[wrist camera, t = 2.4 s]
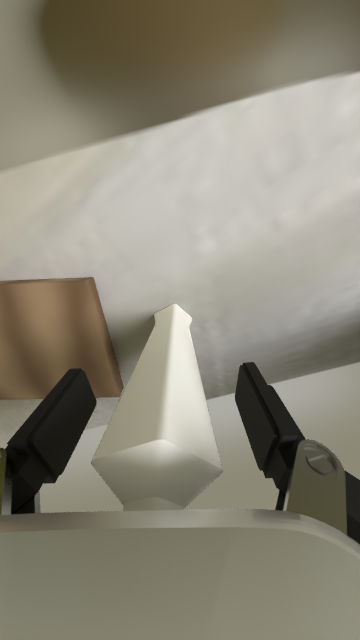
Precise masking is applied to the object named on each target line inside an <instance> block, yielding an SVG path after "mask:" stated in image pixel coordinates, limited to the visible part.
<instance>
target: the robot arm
mask: <svg viewBox="0 0 360 640" xmlns="http://www.w3.org/2000/svg"><path fill="white" fill-rule="evenodd" d="M235 401H236V404H237V407H238V410H239V413H240V416H241V419H242V422H243V425H244V427H245V430H246V433H247V436H248V439H249V442H250V445H251V448H252V451H253V454H254V457H255V459H256V463H257V465H258V468H259V469H260V470H263V472H264V475H265V478H273V480H274V483H275V485H276V487H277V488H278V491H277V496H276V500H275V505H274V509H273V510H265V509H203V510H202V509H200V510H143V511H100V512H99V511H98V512H61V513H41V512H40V494H39V490H40V488H41V486H42V484H43V483H55V482H56V480H57V478H58V476H59V475H61V474H62V473H63V471H64V469H65V467H66V465H67V463H68V461H69V459H70V457H71V455H72V453H73V451H74V449H75V447H76V445H77V443H78V441H79V439H80V437H81V435H82V433H83V431H84V429H85V427H86V425H87V423H88V421H89V419H90V417H91V415H92V413H93V411H94V409H95V406H96V398H95V396H94V393H93V391H92V388H91V386H90V383H89V381H88V378H87V376H86V373H85V371H83V370H82V369H81V368H74V369H69V370H68V371H67V372H66V373H65V375H64V376H63V377H62V378H61V379H60V381H59V382H58V383H57V384H56V385H55V387H54V388H53V389H52V390H51V391H50V393H49V394H48V395H47V396H46V397H45V399H44V400H43V401H42V402H41V403H40V405H39V406H38V407H37V408H36V409H35V411H34V412H33V413H32V414H31V415H30V417H29V418H28V419H27V420H26V421H25V423H24V424H23V425H22V426H21V427H20V429H19V430H18V431H17V432H16V433H15V435H14V436H13V437H12V438H11V439H10V441H9V442H8V443H7V444H8V446H7V447H6V449H4V448H0V640H360V480H359V479H357V478H356V477H354V476H353V475H351V474H349V473H348V472H346V471H345V470H344V468H343V466H342V464H341V462H340V460H339V459H338V458H337V456H336V455H335V454H334V453H333V452H332V451H331V450H330V449H329V448H327V447H326V446H324V445H323V444H321V443H319V442H317V441H315V440H310V439H307V440H306V439H305V437H304V436H303V434H302V433H301V431H300V429H299V428H298V426H297V425H296V423H295V421H294V420H293V418H292V417H291V415H290V414H289V412H288V410H287V409H286V407H285V406H284V404H283V402H282V401H281V399H280V397H279V396H278V394H277V393H276V391H275V390H274V388H273V387H272V386H271V385H267V383H266V382H265V380H264V378H263V377H262V375H261V373H260V371H259V370H258V368H257V366H256V365H255V363H253V362H249V363H243V365H240V368H239V374H238V380H237V387H236V393H235Z"/></svg>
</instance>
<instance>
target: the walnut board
mask: <svg viewBox="0 0 360 640" xmlns="http://www.w3.org/2000/svg"><path fill="white" fill-rule="evenodd" d="M74 368H81V369H82V370H83V371H85V373H86V376H87V378H88V381H89V383H90V386H91V388H92V391H93V393H94V396H95V398H98V397H120V395H121V392H122V389H123V384H122V380H121V376H120V373H119V369H118V365H117V362H116V358H115V354H114V351H113V347H112V343H111V340H110V336H109V333H108V329H107V325H106V322H105V318H104V314H103V311H102V307H101V303H100V300H99V296H98V293H97V289H96V285H95V282H94V278H93V277H89V278H64V279H39V280H14V281H0V400H3V399H45V397H46V396H47V395H48V394H49V393H50V391H51V390H52V389H53V388H54V387H55V385H56V384H57V383H58V382H59V381H60V379H61V378H62V377H63V376H64V375H65V373H66V372H67V371H68V370H69V369H74Z"/></svg>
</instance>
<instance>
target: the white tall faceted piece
mask: <svg viewBox="0 0 360 640" xmlns="http://www.w3.org/2000/svg"><path fill="white" fill-rule="evenodd" d="M154 318H155V326H154V328H153V330H152V332H151V335H150V337H149V339H148V341H147V343H146V345H145V347H144V350H143V352H142V354H141V356H140V358H139V360H138V362H137V365H136V367H135V369H134V371H133V373H132V375H131V377H130V380H129V382H128V384H127V386H126V388H125V390H124V392H123V395H122V397H121V399H120V401H119V403H118V405H117V407H116V410H115V412H114V414H113V416H112V418H111V420H110V422H109V425H108V427H107V429H106V431H105V433H104V435H103V438H102V440H101V442H100V444H99V446H98V448H97V450H96V452H95V455H94V457H93V459H92V461H91V464H92V466H93V467H94V468H95V469H96V471H97V472H98V473H99V475H100V476H101V477H102V478H103V480H104V481H105V482H106V484H107V485H108V486H109V487H110V489H111V490H112V491H113V493H114V494H115V495H116V497H117V498H118V499H119V500H120V502H121V503H122V504H123V506H124V507H123V511H143V510H183V509H184V508H185V507H186V506H187V505H188V504H190V502H192V501H193V500H194V499H195V498H196V497H197V496H198V495H199V494H200V493H201V492H202V491H203V490H205V489H206V488H207V487H208V486H209V485H210V484H211V483H212V482H213V481H214V480H215V479H216V478H217V477H219V476H220V475H221V473H222V472H223V470H222V466H221V462H220V458H219V453H218V449H217V444H216V440H215V436H214V432H213V428H212V423H211V419H210V415H209V410H208V406H207V402H206V398H205V393H204V389H203V385H202V381H201V376H200V372H199V368H198V364H197V359H196V355H195V351H194V346H193V342H192V338H191V334H190V329H189V326H190V324H191V322H192V318H191V317H190V316H189V315H188V314H187V313H186V312H185V311H184V310H182V309H181V308H180V307H179V306H178V305H177V304H172V305H170V306H168V307H166V308H164V309H162V310H160V311H158V312H157V313H155V314H154Z"/></svg>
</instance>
